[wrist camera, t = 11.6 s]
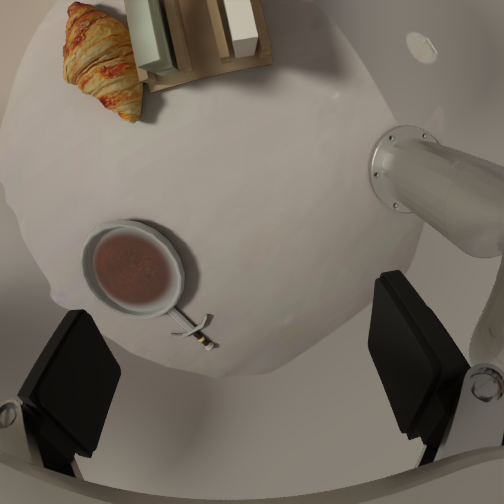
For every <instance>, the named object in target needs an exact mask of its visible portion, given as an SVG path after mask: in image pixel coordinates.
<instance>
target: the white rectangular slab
mask: <svg viewBox="0 0 504 504" xmlns="http://www.w3.org/2000/svg"><path fill="white" fill-rule="evenodd" d="M223 3H224V8H225V12H226V17H227V21H228V26H229V30H230V35H231V40H232V44H233V49H234V54H235V58H240V57H246V56H253V55H254V53H255V49H256V44H257V40H258V33H257V29H256V25H255V20H254V16H253V11H252V7H251V3H250V0H223Z"/></svg>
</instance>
